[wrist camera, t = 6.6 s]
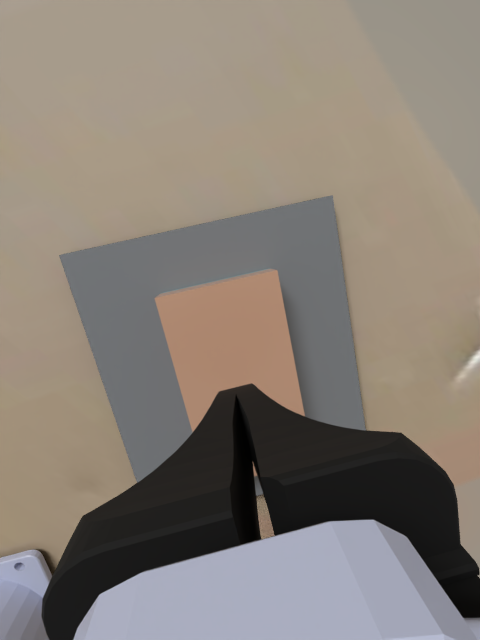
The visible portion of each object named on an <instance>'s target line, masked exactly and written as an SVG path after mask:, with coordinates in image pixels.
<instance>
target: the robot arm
mask: <svg viewBox="0 0 480 640" xmlns="http://www.w3.org/2000/svg"><path fill="white" fill-rule="evenodd" d="M253 464H254V467H255V470H256V473H257V476H258V479H259V482H260V485H261V488H262V491H263V494H264V497H265V500H266V503H267V506H268V510H269V514H270V518H271V522H272V526H273V530H274V535H275V536H272V537H268V538H265V539H261V536H260V529H259V521H258V511H257V501H256V490H255V480H254V470H253ZM477 575H479V567H478V566H477V564H476V562H475V561H474V559H473V558H472V557H471V556H470V555H469V554H468V553H467V551H466V550H465V549H464V548H463V547H462V546H461V544H460V532H459V518H458V505H457V498H456V493H455V489H454V485H453V483H452V481H451V480H450V478H449V477H448V475H447V473H446V472H445V471H444V470H443V469H442V468H441V467H440V466H439V465H438V464H437V463H436V462H435V461H434V460H433V459H432V458H431V457H430V456H428V455H427V454H426V453H425V452H424V451H423V450H422V449H421V448H420V447H418V446H417V445H416V444H415V443H413V442H412V441H411V440H410V439H408V438H407V437H406V436H404V435H403V434H402V433H397V432H380V431H365V430H358V429H351V428H345V427H340V426H335V425H331V424H327V423H323V422H320V421H316V420H313V419H310V418H307V417H305V416H302V415H300V414H298V413H295V412H293V411H291V410H289V409H287V408H285V407H283V406H282V405H280V404H278V403H277V402H276V401H274V400H273V399H271V398H270V397H268V396H267V395H266V394H264V393H263V392H262V391H261V390H260V389H258V388H257V387H256V386H255V385H254V384H252V383H251V384H247V385H243V386H239V387H235V388H231V389H227V390H222V391H219V392H218V394H217V395H216V397H215V399H214V400H213V402H212V404H211V406H210V408H209V409H208V411H207V413H206V414H205V416H204V417H203V419H202V420H201V422H200V423H199V425H198V426H197V427H196V429H195V430H194V431H193V433H192V434H191V435H190V436H189V438H188V439H187V440H186V441H185V442H184V443H183V444H182V445H181V446H180V447H179V448H178V449H177V450H176V451H175V452H174V453H173V454H172V455H171V456H170V457H169V458H168V459H167V460H165V461H164V462H163V463H162V464H161V465H160V466H159V467H157V468H156V469H155V470H154V471H153V472H151V473H150V474H149V475H147V476H146V477H145V478H143V479H142V480H141V481H139V482H138V483H136V484H135V485H134V486H132V487H131V488H129V489H128V490H126V491H125V492H123V493H122V494H120V495H118V496H117V497H115V498H113V499H112V500H110V501H108V502H107V503H105V504H103V505H101V506H100V507H98V508H96V509H95V510H93V511H91V512H89V513H87V514H86V515H84V516H82V518H81V520H80V522H79V523H78V525H77V527H76V529H75V531H74V533H73V535H72V537H71V539H70V541H69V543H68V545H67V547H66V549H65V551H64V553H63V555H62V557H61V559H60V562H59V564H58V566H57V568H56V570H55V572H54V574H53V576H52V575H51V572H50V570H49V568H48V566H47V563H46V561H45V559H44V557H43V555H42V553H41V552H40V551H38V550H28V551H24V552H21V553H17V554H13V555H9V556H5V557H2V558H0V640H480V578H479V577H478V576H477Z"/></svg>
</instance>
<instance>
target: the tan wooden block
mask: <svg viewBox="0 0 480 640" xmlns="http://www.w3.org/2000/svg"><path fill="white" fill-rule="evenodd" d="M155 302H156V305H157V309H158V312H159V316H160V319H161V323H162V326H163V330H164V333H165V337H166V341H167V344H168V348H169V351H170V355H171V358H172V362H173V365H174V369H175V372H176V376H177V379H178V383H179V386H180V390H181V393H182V397H183V400H184V404H185V408H186V411H187V415H188V418H189V422H190V425H191V429H192V432H193V431H194V430H195V429H196V427H197V426H198V425H199V423H200V422H201V420H202V419H203V417H204V416H205V414H206V413H207V411H208V409H209V408H210V406H211V404H212V402H213V400H214V399H215V397H216V395H217V394H218V392H219V391H222V390H227V389H231V388H235V387H239V386H243V385H247V384H251V383H252V384H254V385H255V386H256V387H257V388H258V389H260V390H261V391H262V392H263V393H264V394H266V395H267V396H268V397H270V398H271V399H273V400H274V401H276V402H277V403H278V404H280V405H282V406H283V407H285V408H287V409H289V410H291V411H293V412H295V413H298V414H300V415H302V416H305V414H304V409H303V403H302V398H301V393H300V387H299V382H298V377H297V372H296V366H295V361H294V356H293V350H292V345H291V340H290V334H289V329H288V324H287V319H286V313H285V308H284V303H283V297H282V292H281V287H280V282H279V276H278V271H277V270H275V269H265V270H261V271H256V272H252V273H248V274H243V275H239V276H235V277H230V278H226V279H221V280H217V281H213V282H208V283H204V284H199V285H195V286H191V287H186V288H182V289H178V290H173V291H169V292H164V293H161V294H159V295H158V296H157V297H155ZM253 470H254V476H257V473H256V470H255V467H254V464H253Z"/></svg>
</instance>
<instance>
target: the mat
mask: <svg viewBox="0 0 480 640" xmlns="http://www.w3.org/2000/svg"><path fill="white" fill-rule="evenodd" d="M59 256H60V259H61V262H62V265H63V268H64V271H65V274H66V277H67V280H68V282H69V285H70V288H71V291H72V294H73V297H74V300H75V303H76V306H77V309H78V312H79V314H80V317H81V320H82V323H83V326H84V329H85V332H86V335H87V338H88V341H89V344H90V347H91V349H92V352H93V355H94V358H95V361H96V364H97V367H98V370H99V373H100V376H101V379H102V381H103V384H104V387H105V390H106V393H107V396H108V399H109V402H110V405H111V408H112V411H113V414H114V416H115V419H116V422H117V425H118V428H119V431H120V434H121V437H122V440H123V443H124V446H125V448H126V451H127V454H128V457H129V460H130V463H131V466H132V469H133V472H134V475H135V478H136V481H137V483H138V482H139V481H141V480H142V479H143V478H145V477H146V476H147V475H149V474H150V473H151V472H153V471H154V470H155V469H156V468H157V467H159V466H160V465H161V464H162V463H163V462H164V461H165V460H167V459H168V458H169V457H170V456H171V455H172V454H173V453H174V452H175V451H176V450H177V449H178V448H179V447H180V446H181V445H182V444H183V443H184V442H185V441H186V440H187V439H188V438H189V436H190V435H191V434H192V433H193V432H192V429H191V425H190V422H189V418H188V415H187V411H186V408H185V404H184V400H183V397H182V393H181V390H180V386H179V383H178V379H177V376H176V372H175V369H174V365H173V362H172V358H171V355H170V351H169V348H168V344H167V341H166V337H165V333H164V330H163V326H162V323H161V319H160V316H159V312H158V309H157V305H156V302H155V297H157V296H158V295H159V294H161V293H164V292H169V291H173V290H178V289H182V288H186V287H191V286H195V285H199V284H204V283H208V282H213V281H217V280H221V279H226V278H230V277H235V276H239V275H243V274H248V273H252V272H256V271H261V270H265V269H275V270H277V271H278V276H279V282H280V287H281V292H282V297H283V303H284V308H285V313H286V319H287V324H288V329H289V334H290V340H291V345H292V350H293V356H294V361H295V366H296V372H297V377H298V382H299V387H300V393H301V398H302V403H303V409H304V414H305V417H307V418H310V419H313V420H316V421H320V422H323V423H327V424H331V425H335V426H340V427H345V428H351V429H358V430H365V431H366V429H365V422H364V415H363V408H362V401H361V394H360V386H359V379H358V372H357V365H356V358H355V351H354V344H353V337H352V330H351V323H350V316H349V308H348V301H347V294H346V287H345V280H344V273H343V266H342V259H341V252H340V245H339V238H338V231H337V223H336V216H335V209H334V202H333V195H332V196H327V197H323V198H318V199H314V200H309V201H304V202H300V203H295V204H291V205H286V206H282V207H277V208H272V209H268V210H263V211H259V212H254V213H250V214H245V215H240V216H236V217H231V218H227V219H222V220H218V221H213V222H208V223H204V224H199V225H195V226H190V227H186V228H181V229H176V230H172V231H167V232H163V233H158V234H154V235H149V236H144V237H140V238H135V239H131V240H126V241H122V242H117V243H112V244H108V245H103V246H99V247H94V248H90V249H85V250H80V251H76V252H71V253H67V254H62V255H59ZM254 480H255V490H256V496H257V495H261V494H263V491H262V488H261V485H260V482H259V479H258V476H254Z"/></svg>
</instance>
